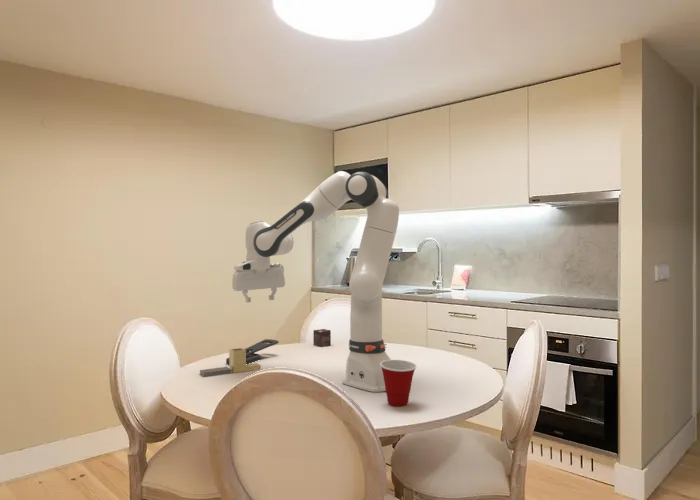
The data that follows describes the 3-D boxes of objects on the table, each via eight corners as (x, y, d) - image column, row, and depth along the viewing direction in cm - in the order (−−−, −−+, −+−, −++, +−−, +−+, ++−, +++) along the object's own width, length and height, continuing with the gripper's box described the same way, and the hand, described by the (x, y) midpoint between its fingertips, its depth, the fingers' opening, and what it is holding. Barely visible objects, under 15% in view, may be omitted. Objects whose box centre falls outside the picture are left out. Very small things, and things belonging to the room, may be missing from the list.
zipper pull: (280, 340, 226) (238, 350, 205) (280, 355, 226) (239, 367, 205) (265, 338, 231) (222, 347, 210) (265, 353, 231) (222, 364, 210)
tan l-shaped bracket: (256, 366, 205) (256, 346, 205) (261, 369, 201) (260, 348, 201) (229, 370, 199) (229, 349, 199) (233, 373, 195) (233, 351, 195)
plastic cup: (396, 411, 148) (396, 369, 148) (372, 402, 157) (372, 362, 157) (424, 405, 155) (424, 364, 155) (400, 396, 163) (399, 357, 163)
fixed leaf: (243, 371, 197) (243, 353, 197) (203, 377, 190) (203, 357, 189) (238, 369, 201) (238, 350, 201) (200, 374, 194) (199, 355, 194)
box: (323, 344, 253) (323, 328, 253) (331, 345, 249) (331, 330, 249) (313, 345, 250) (313, 330, 249) (320, 347, 245) (320, 331, 245)
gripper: (280, 263, 208) (281, 298, 208) (230, 266, 198) (231, 303, 198) (286, 263, 203) (288, 299, 203) (235, 266, 192) (237, 304, 192)
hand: (260, 301), depth 200 cm, fingers open, 8 cm apart
